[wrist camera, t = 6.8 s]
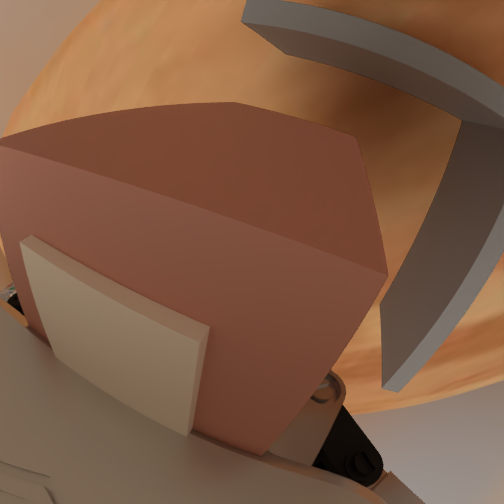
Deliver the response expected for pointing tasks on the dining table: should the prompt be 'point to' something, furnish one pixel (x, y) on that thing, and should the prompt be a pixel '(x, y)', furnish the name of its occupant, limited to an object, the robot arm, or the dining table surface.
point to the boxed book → (194, 258)
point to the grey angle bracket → (452, 184)
